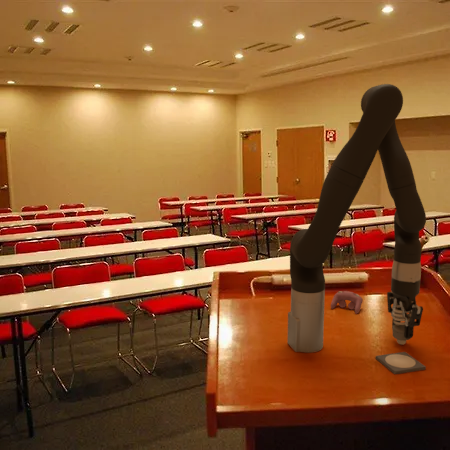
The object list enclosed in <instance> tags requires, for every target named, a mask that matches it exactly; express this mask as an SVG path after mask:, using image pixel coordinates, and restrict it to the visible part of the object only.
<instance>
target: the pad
mask: <svg viewBox="0 0 450 450" xmlns="http://www.w3.org/2000/svg"><path fill="white" fill-rule="evenodd" d="M375 360H377V361H378V362H379V363H380V364H381V365H382V366H384V367H385V368H386V369H387V370H389V372H391V373H392V374H394V375H399V374H406V373H412V372H418V371H425V370H426V367H427V366H426V365H424V364H423V363H421V362H420V361H419V360H418V359H416V358H415V357H413V356H412V355H410V354H409V353H408V352H407V351H400V352H395V353H387V354H386V353H385V354H380V355H379V354H378V355H375Z"/></svg>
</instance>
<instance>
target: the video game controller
mask: <svg viewBox="0 0 450 450" xmlns="http://www.w3.org/2000/svg"><path fill="white" fill-rule="evenodd" d="M347 301H349V303H348V305H347ZM363 302H364V301H363V298H362V296H360V295H359V294H358V293H355V292H353V291H348V290H343V291H342V290H341V291H340V290H339V291H337V292H336V293H335V294H334V295H333V297H332V300H331V303H330V309H331V310H333V309H335V308H336V306H337V305H338V306H339V307H340V308H341V309H342V308H343V309H344V308H346V307H347V306H348V309H350V310H354V313H355V314H356V315H357V314H359V312H360V310H361V309H362V304H363Z"/></svg>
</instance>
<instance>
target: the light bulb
mask: <svg viewBox="0 0 450 450" xmlns="http://www.w3.org/2000/svg"><path fill="white" fill-rule="evenodd" d="M396 307H397V308H400V305H397V306H396ZM397 308H396V309H395V308H394V309H393V311H394V312H393V315H394V316H393V317H392V319H394V321H393V322H394V323H395V325H393V328H392V327H391V330H392V337H393V338H394V339H395V340H396V343H397V344H399V345H400V346H402V345H403V346H404V345H405V344H407V341H409V340H411V339H412V338H409V339H406V338H405V337H404V333H405V319H404V318H403V316H402V313H403V312H402V311H401V310H398V309H397ZM411 313H412V312H410V311H409V312H406V314H407V315H408V314H411ZM400 314H401V315H400ZM410 318H411V317H409V318H408V319H409V321H410ZM395 320H396V321H395ZM397 321H401V322H397Z"/></svg>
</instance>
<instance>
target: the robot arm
mask: <svg viewBox="0 0 450 450" xmlns="http://www.w3.org/2000/svg"><path fill="white" fill-rule="evenodd" d="M403 105H404V97H403V93H402V91H401V89H399V87H398V86H397V85H394V84H391V83H384V84H383V83H382V84H378V85H375V86H371V87H370V88H368V89H367V90H366V91H364V93H363V95H362V97H361V101H360V109H361V111H362V115H361V117H360V121H359V122H358V125H357V127H356V129H355V130H354V133H353V134H352V135H351V136H350V138H349V139H348V141H347V142H346V143H345V144H344V145H343V146H342V148H341V150H339V152H338V154H337V156H336V157H335V159H334V160H333V162H332V164H331V166H330V168H329V170H328V172H327V173H326V176H325V179H324V180H323V184H322V187H321V191H320V195H319V199H318V204H317V208H316V212H315V214H314V217H313V219H312V220H311V223H310V224H309V226H308V228H303V229H300V230H298V231H297V232H295V234H294V235H293V237H292V238H291V241H290V245H289V246H290V247H289V276H290V284H291V285H290V287H291V288H290V289H291V291H290V311H288V312H287V344H288V345H289V346H290V347H291V349H292V350H293V351H294V352H296V353H297V352H301V353H316V352H319V351H321V350H322V349H323V348H324V347H323V346H324V329H325V328H324V326H325V325H324V323H325V299H326V297H325V295H326V279H325V274H324V266H323V265H324V263H325V262H326V261H327V259H328V257H329V256H330V253H331V250H332V247H333V244H334V242H335V239H336V237H337V234H338V232H339V229H340V227H341V225H342V222H343V221H344V219H345V217H346V215H347V213H348V212H349V210H350V208H351V206H352V204H353V202H354V200H355V198H356V196H357V195H358V193H359V191H360V189H361V186H362V185H363V184H364V183H363V182H364V180H365V179H366V176H367V175H368V173H369V170H370V168H371V166H372V163H373V162H374V160H375V157H376V154H377V153H378V154H379V159H380V162H381V164H382V165H381V166H382V170H383V174H384V178H385V181H386V184H387V190H388V193H389V194H390V197H391V199H392V200H393V202H394V206H395V212H394V216H393V230H394V231H393V232H394V248H393V249H394V251H393V262H392V267H391V281H390V282H391V284H390V291H388V292H386V299H387V312H388V313H389V314H391V315H390V316H391V318H392V320H391V322H392V323H391V329H392V328H393V325H395V323H394V322H393V321H394V319H393V316H394V315H393V312H394V311H393V309H394V308H395V309H396V308H397V307H396V306H397V305H400V308H397V309H398V310H401V311H402V312H403V313H402V316H403V318H404V319H405V321H404V322H405V333H404V337H405V338H406V339H409V338H411V339H412V338H413V336H414V329H415V327H419V326H420V325H421V320H422V317H423V312H424V307H423V306H421V305H420V306H419V305H418V304H417V301H416V300H417V299H416V297H417V296H418V295H419V294H420V290H421V289H420V288H421V275H422V273H421V272H422V265H421V264H422V263H421V260H422V243H421V241H420V240H421V239H420V231H422V230H423V229H424V228H425V225H426V223H427V216H426V211H425V208H424V206H423V202H422V199H421V197H420V194H419V192H418V189H417V184H416V179H415V176H414V175H415V174H414V173H413V167H412V164H411V162H410V159H409V157H408V154H407V152H406V149H405V148H404V146H403V143H402V141H401V139H400V136H399V132H398V129H397V125H396V120H397V118H398V117H399V115H400V113H401V111H402V110H403ZM409 311H410V312H412V313H411V314H409V313H407V314H408V315H407V314H406V312H409ZM400 315H401V314H400ZM409 317H411V318H410V321H409V319H408V318H409ZM395 321H396V320H395ZM397 322H402V321H397ZM409 340H410V339H409Z"/></svg>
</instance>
